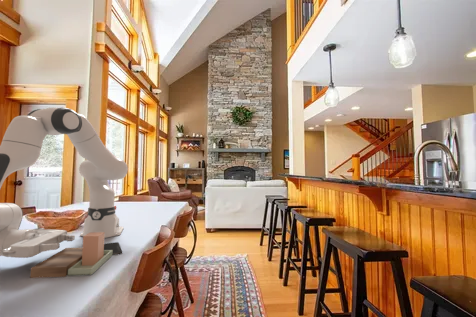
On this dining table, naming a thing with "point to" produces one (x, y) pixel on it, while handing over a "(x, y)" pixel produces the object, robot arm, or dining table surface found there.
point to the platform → (57, 264)
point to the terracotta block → (92, 248)
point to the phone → (113, 248)
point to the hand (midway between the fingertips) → (66, 242)
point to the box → (88, 266)
